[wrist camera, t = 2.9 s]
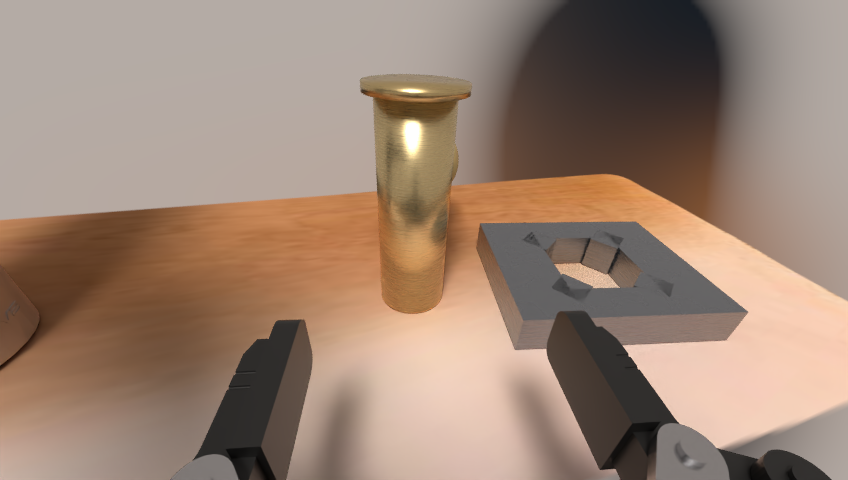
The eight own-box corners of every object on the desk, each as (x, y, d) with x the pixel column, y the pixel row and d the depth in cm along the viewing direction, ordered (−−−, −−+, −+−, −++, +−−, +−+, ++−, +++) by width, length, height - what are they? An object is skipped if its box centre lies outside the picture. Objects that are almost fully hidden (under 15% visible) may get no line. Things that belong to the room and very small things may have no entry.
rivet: (371, 321, 22) (354, 87, 14) (375, 269, 26) (364, 72, 19) (456, 318, 22) (483, 91, 15) (444, 267, 27) (461, 75, 19)
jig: (515, 349, 20) (523, 320, 19) (476, 247, 29) (480, 223, 28) (726, 340, 21) (748, 312, 20) (625, 245, 30) (635, 221, 29)
